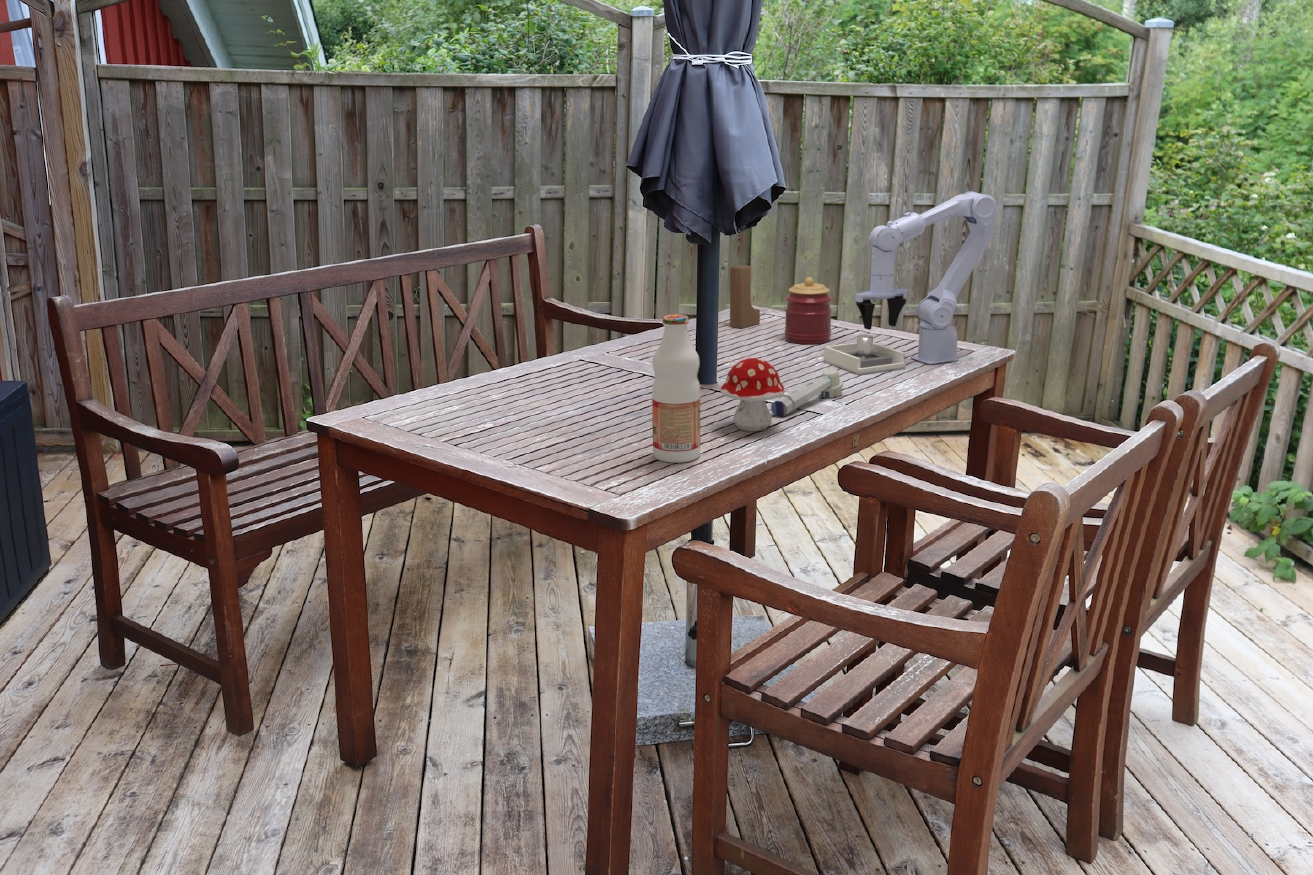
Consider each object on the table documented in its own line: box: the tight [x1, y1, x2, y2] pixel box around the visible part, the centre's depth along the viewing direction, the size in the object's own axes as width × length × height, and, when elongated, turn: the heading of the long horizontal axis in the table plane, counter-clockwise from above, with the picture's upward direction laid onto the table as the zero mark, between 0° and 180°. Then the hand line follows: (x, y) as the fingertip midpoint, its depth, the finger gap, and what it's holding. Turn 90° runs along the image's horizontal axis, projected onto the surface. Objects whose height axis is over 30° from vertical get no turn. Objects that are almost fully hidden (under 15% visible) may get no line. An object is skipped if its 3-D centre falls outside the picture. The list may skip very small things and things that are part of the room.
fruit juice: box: [651, 313, 701, 464], centre depth 228 cm, size 9×9×28 cm
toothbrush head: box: [770, 368, 844, 418], centre depth 266 cm, size 5×7×25 cm
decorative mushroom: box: [719, 357, 787, 432], centre depth 248 cm, size 14×14×15 cm
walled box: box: [823, 342, 906, 376], centre depth 300 cm, size 14×16×4 cm
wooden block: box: [729, 264, 761, 329], centre depth 346 cm, size 9×4×18 cm, turn 137°
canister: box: [784, 276, 833, 345], centre depth 327 cm, size 13×13×18 cm
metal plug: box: [856, 334, 874, 359], centre depth 299 cm, size 4×4×7 cm
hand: (879, 327), depth 300 cm, fingers open, 7 cm apart
